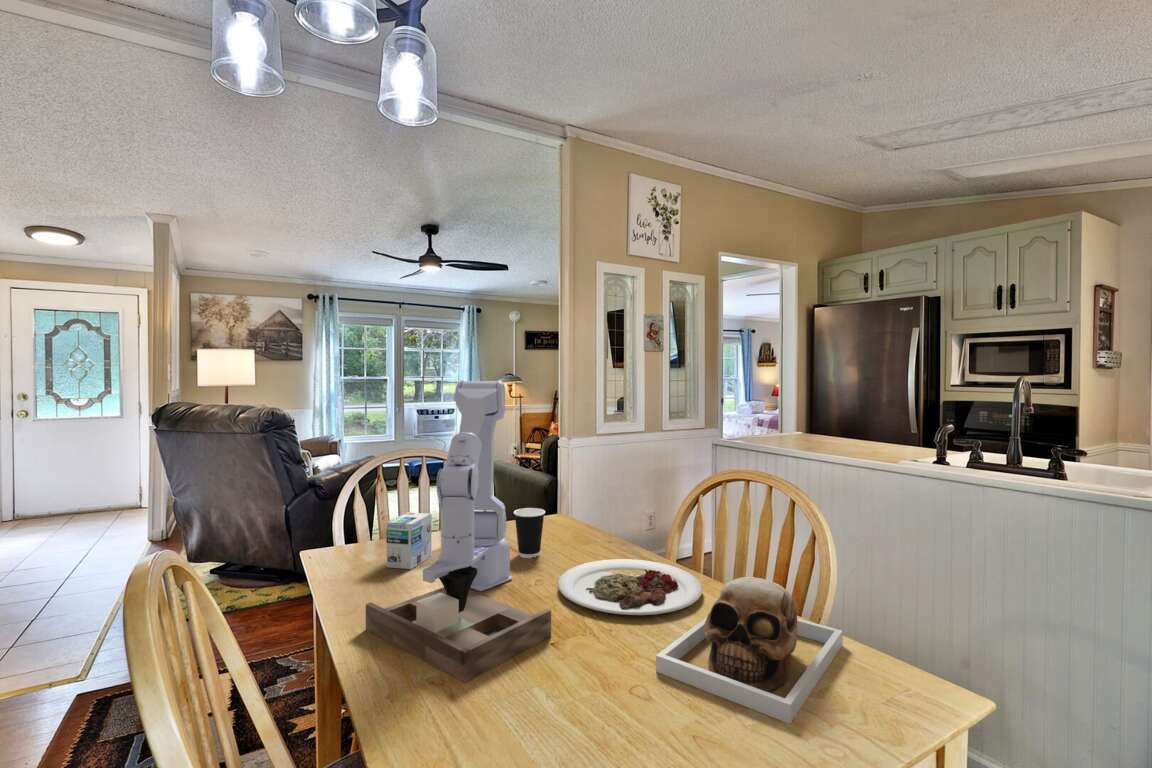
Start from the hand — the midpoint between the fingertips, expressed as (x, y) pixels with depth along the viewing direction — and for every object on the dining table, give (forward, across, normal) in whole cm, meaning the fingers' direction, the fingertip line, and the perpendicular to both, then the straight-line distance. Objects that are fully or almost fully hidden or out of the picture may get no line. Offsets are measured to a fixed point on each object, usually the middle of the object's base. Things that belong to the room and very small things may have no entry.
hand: (457, 610), depth 97 cm
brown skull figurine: (+4, -15, +47) cm, 50 cm away
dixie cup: (+4, -40, -14) cm, 42 cm away
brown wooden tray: (+3, +1, +1) cm, 4 cm away
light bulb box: (+4, -21, -35) cm, 41 cm away
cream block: (+1, +4, -1) cm, 4 cm away
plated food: (+4, -33, +18) cm, 37 cm away
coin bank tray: (+3, -18, +47) cm, 50 cm away
